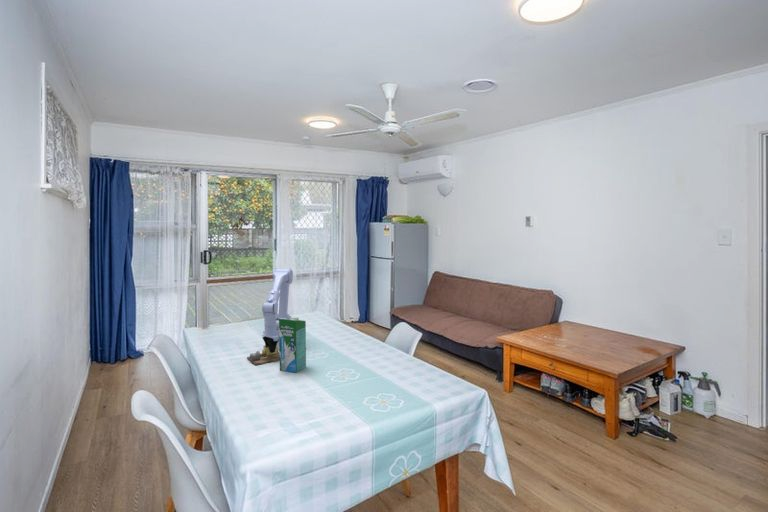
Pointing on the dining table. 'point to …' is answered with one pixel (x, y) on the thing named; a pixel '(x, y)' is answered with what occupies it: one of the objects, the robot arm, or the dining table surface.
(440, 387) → the dining table surface
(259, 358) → the pipe board
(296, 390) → the dining table surface
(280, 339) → the milk carton
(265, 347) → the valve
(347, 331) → the dining table surface
